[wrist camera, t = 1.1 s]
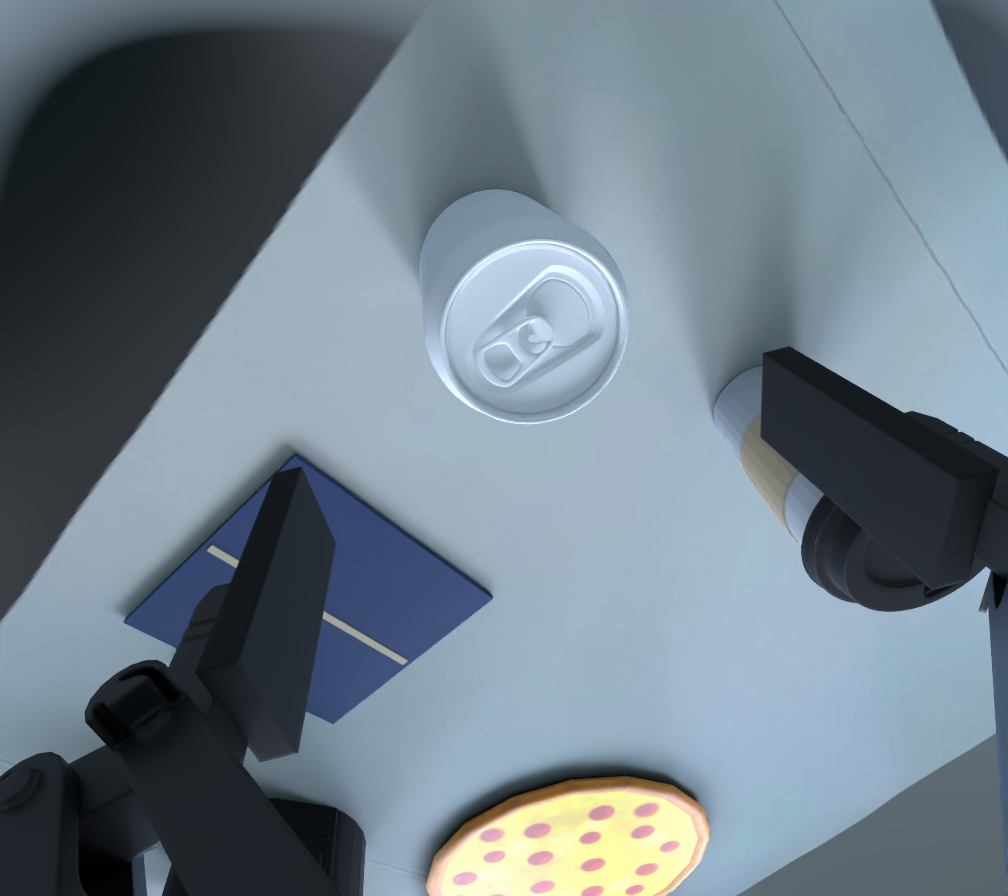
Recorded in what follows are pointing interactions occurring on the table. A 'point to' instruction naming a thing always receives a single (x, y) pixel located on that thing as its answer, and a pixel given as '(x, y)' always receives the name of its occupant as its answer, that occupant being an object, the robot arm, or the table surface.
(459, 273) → the beverage can
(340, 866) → the black round tub
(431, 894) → the pizza
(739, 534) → the table surface
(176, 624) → the napkin
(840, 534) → the coffee cup
